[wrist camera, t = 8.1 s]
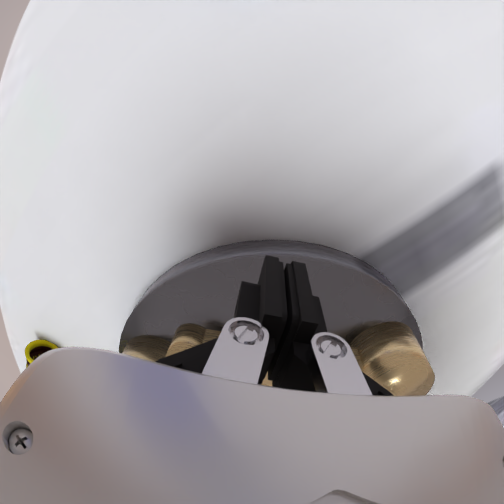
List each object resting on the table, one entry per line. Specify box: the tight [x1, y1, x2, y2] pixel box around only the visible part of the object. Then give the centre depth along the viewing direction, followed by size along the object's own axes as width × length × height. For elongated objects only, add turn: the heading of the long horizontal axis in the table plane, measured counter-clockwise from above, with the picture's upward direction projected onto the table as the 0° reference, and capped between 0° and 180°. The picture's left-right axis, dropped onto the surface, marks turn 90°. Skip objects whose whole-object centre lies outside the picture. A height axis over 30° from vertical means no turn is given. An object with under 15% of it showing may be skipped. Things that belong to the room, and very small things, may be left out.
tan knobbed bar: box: [165, 321, 435, 396], centre depth 13 cm, size 14×4×3 cm, turn 82°
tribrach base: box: [119, 240, 423, 362], centre depth 17 cm, size 21×21×5 cm
